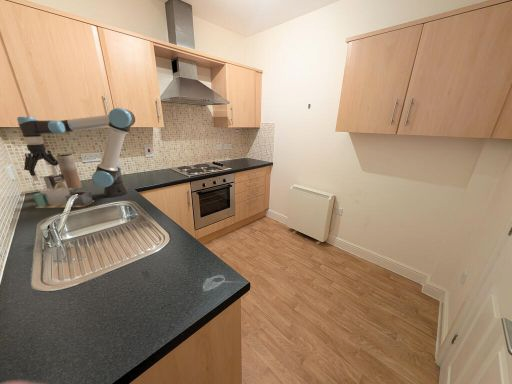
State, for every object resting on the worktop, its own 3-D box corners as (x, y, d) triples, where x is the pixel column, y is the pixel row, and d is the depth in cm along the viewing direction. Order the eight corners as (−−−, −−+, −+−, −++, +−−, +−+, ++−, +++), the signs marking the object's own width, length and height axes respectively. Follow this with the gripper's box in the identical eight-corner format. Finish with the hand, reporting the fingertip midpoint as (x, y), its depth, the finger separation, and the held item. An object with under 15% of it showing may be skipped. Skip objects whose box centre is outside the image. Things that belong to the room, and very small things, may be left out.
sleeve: (92, 201, 139) (90, 191, 137) (84, 205, 131) (81, 195, 129) (77, 201, 138) (74, 191, 136) (68, 205, 131) (65, 195, 128)
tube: (79, 201, 137) (74, 187, 134) (73, 204, 132) (68, 190, 129) (51, 202, 136) (46, 188, 133) (45, 205, 131) (39, 190, 128)
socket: (56, 201, 138) (52, 190, 135) (45, 206, 130) (40, 194, 127) (48, 201, 137) (44, 190, 135) (36, 206, 129) (32, 195, 127)
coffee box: (56, 198, 144) (49, 177, 139) (49, 198, 146) (42, 176, 140) (70, 194, 153) (63, 174, 148) (63, 194, 154) (56, 173, 149)
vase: (80, 185, 174) (71, 153, 165) (83, 188, 168) (73, 155, 159) (65, 188, 167) (54, 155, 158) (67, 190, 161) (56, 156, 152)
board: (94, 201, 140) (94, 200, 140) (84, 206, 131) (84, 206, 130) (49, 202, 138) (49, 201, 138) (35, 208, 129) (34, 207, 128)
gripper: (47, 142, 133) (57, 173, 140) (5, 146, 109) (20, 183, 116) (59, 142, 133) (68, 173, 140) (20, 146, 110) (34, 183, 116)
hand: (47, 177), depth 128 cm, fingers open, 13 cm apart
